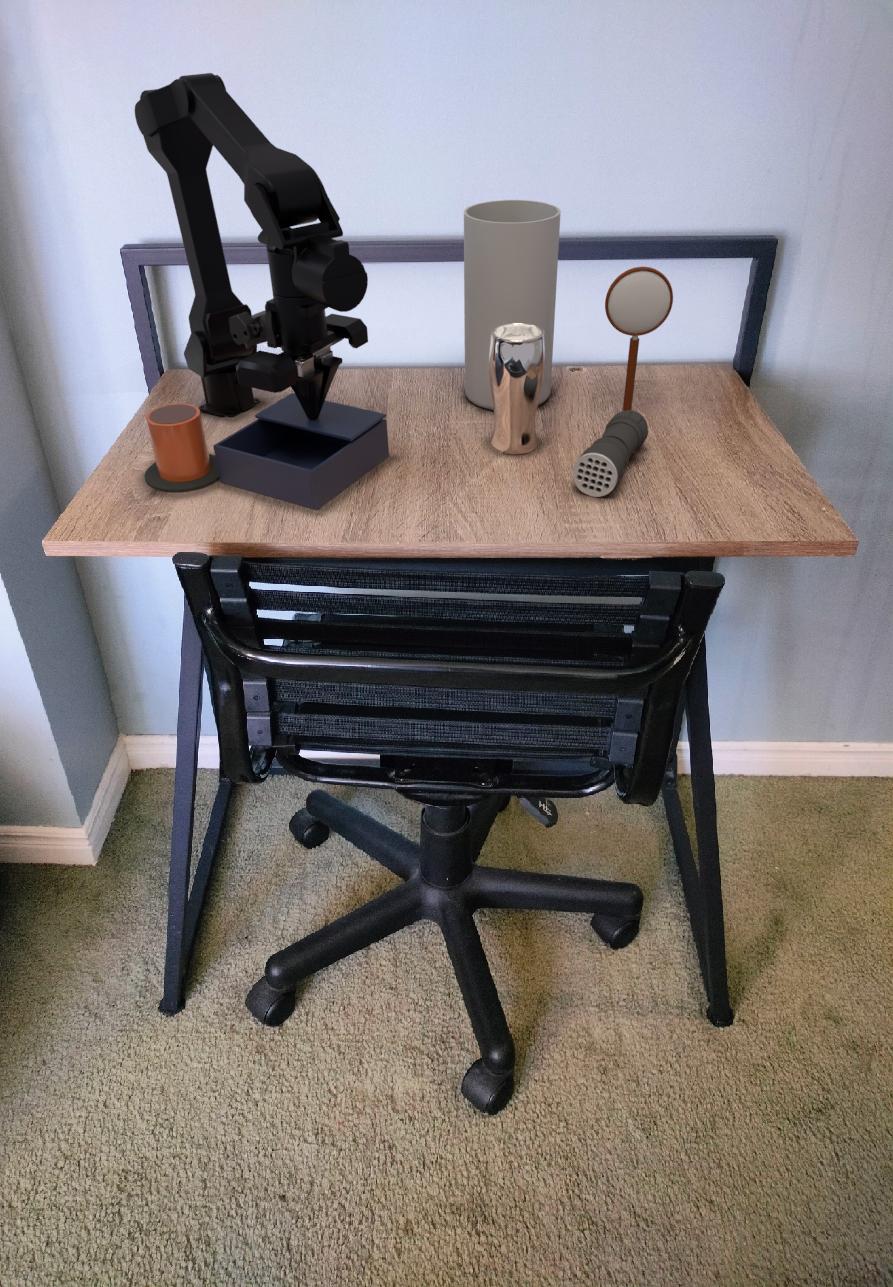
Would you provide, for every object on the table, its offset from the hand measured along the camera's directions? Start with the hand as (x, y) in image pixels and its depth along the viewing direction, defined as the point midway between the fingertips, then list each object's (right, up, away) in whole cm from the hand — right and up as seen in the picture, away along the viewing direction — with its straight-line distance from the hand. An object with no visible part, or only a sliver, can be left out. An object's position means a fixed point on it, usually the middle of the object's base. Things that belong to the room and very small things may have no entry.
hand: (313, 418), depth 111 cm
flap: (+1, 0, +1) cm, 1 cm away
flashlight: (+37, -6, +1) cm, 38 cm away
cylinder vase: (+26, +8, +20) cm, 33 cm away
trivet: (-16, -7, +2) cm, 18 cm away
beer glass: (+26, -2, +7) cm, 27 cm away
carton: (-1, -6, +2) cm, 7 cm away
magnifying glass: (+42, +3, +13) cm, 44 cm away
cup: (-16, -6, +1) cm, 18 cm away
